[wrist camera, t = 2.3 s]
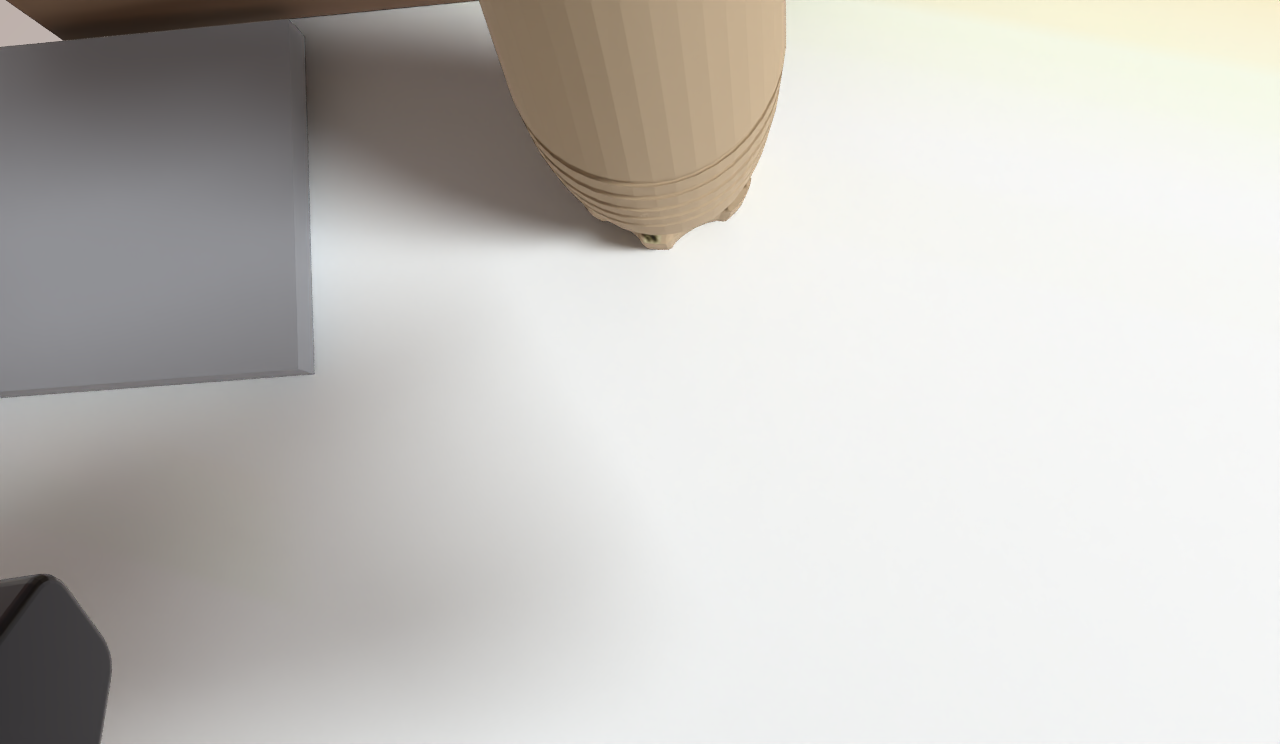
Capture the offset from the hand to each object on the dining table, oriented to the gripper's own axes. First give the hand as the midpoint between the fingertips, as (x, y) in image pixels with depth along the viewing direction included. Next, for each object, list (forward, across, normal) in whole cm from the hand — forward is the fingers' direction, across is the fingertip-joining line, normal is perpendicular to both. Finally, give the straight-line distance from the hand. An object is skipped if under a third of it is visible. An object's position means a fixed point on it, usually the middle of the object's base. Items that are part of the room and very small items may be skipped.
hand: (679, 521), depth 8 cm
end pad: (+14, +11, +4) cm, 18 cm away
